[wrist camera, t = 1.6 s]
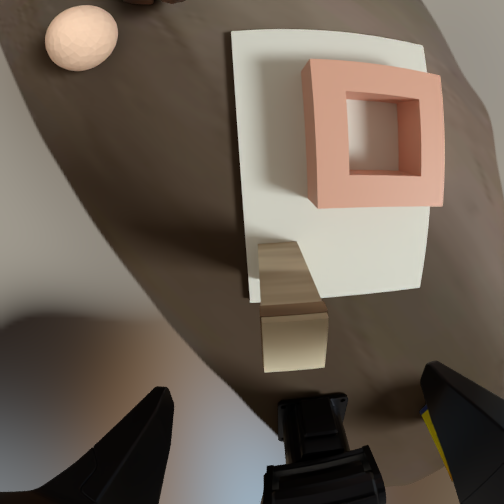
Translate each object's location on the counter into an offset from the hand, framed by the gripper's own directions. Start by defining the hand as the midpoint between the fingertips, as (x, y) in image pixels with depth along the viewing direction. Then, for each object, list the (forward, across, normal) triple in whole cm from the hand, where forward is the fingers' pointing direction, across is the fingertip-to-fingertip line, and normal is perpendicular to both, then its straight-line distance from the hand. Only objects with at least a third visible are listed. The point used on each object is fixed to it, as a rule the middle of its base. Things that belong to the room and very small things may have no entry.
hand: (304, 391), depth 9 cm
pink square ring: (+12, -6, -8) cm, 15 cm away
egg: (+12, +11, -16) cm, 23 cm away
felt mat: (+12, -4, -6) cm, 14 cm away
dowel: (+12, 0, 0) cm, 12 cm away
